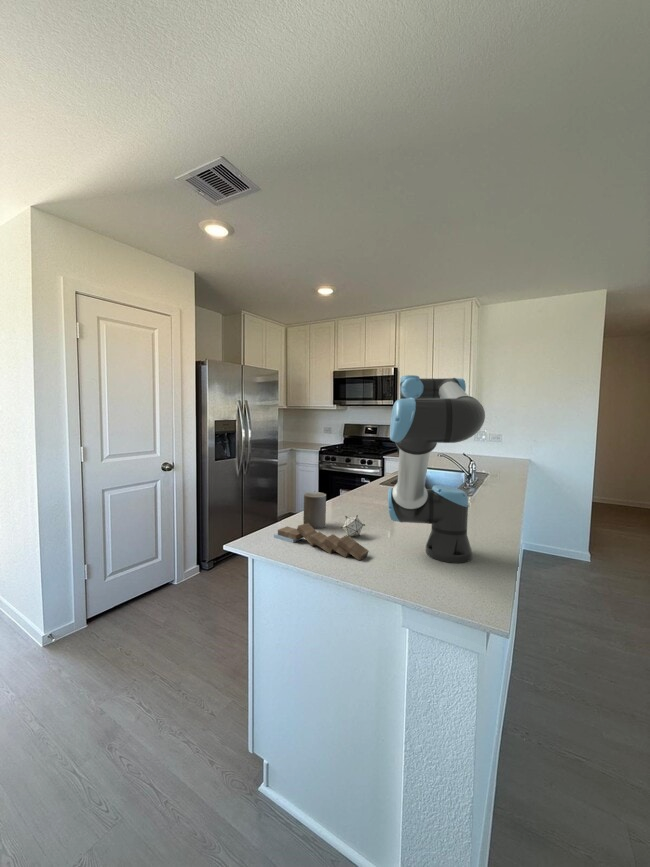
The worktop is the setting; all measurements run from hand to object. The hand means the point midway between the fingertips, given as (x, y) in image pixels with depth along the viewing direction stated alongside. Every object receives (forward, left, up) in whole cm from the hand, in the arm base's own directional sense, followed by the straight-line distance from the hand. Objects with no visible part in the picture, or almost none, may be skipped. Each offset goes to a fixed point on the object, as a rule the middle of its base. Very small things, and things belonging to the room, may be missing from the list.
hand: (407, 474), depth 143 cm
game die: (+16, +15, -25) cm, 33 cm away
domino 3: (+21, +31, -23) cm, 44 cm away
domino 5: (+6, +32, -24) cm, 40 cm away
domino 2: (+30, +33, -24) cm, 50 cm away
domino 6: (+1, +31, -24) cm, 39 cm away
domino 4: (+12, +32, -24) cm, 42 cm away
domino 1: (+28, +32, -22) cm, 48 cm away
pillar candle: (+36, +14, -25) cm, 46 cm away
